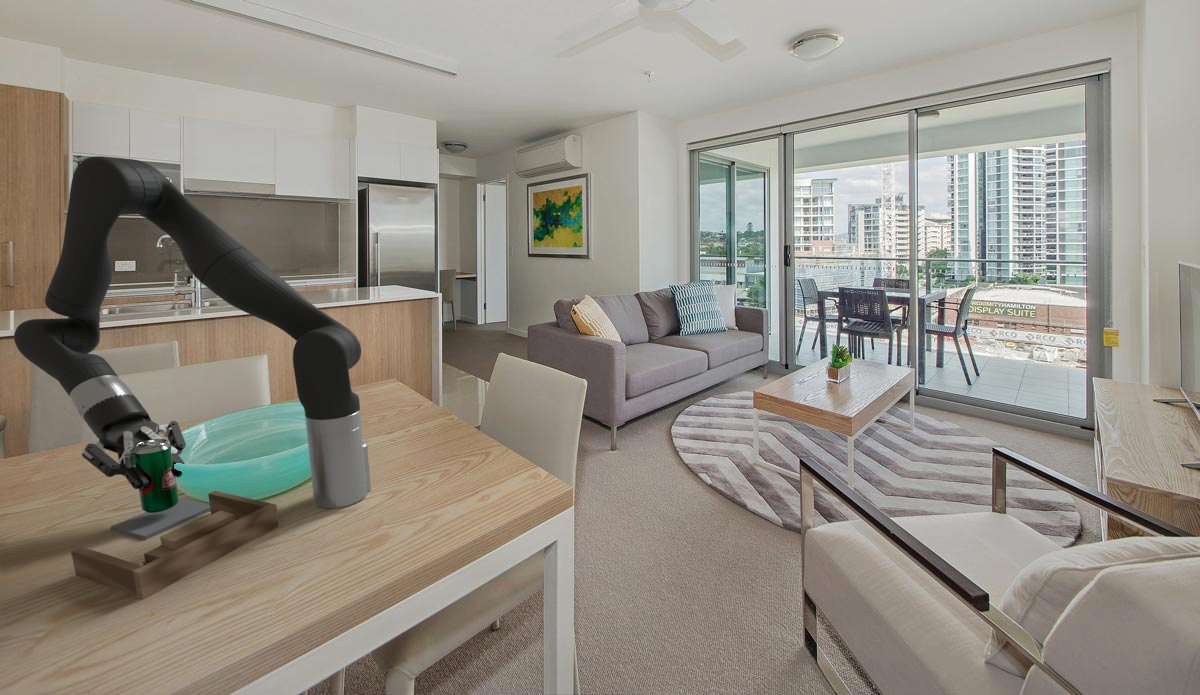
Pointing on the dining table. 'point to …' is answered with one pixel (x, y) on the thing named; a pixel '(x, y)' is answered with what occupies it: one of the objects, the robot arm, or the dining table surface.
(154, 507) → the soda can
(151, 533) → the mat
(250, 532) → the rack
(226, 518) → the offcut stack
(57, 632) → the dining table surface
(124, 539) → the dining table surface
